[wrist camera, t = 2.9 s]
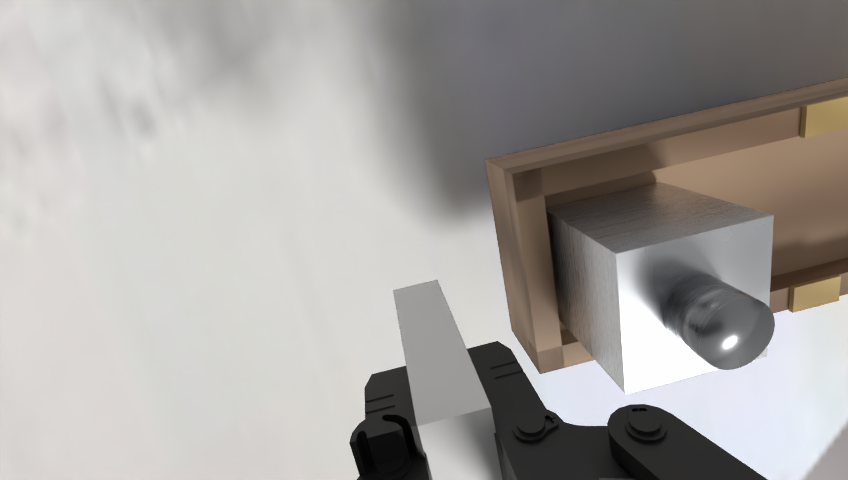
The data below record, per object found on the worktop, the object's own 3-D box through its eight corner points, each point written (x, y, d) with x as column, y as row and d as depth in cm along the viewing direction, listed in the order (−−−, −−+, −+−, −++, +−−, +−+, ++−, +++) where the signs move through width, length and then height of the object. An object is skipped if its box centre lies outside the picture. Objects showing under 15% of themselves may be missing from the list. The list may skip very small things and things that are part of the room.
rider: (543, 208, 17) (650, 275, 11) (659, 181, 17) (827, 230, 11) (556, 316, 18) (656, 429, 12) (663, 289, 19) (813, 386, 12)
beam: (463, 147, 22) (513, 173, 15) (891, 51, 24) (1125, 32, 17) (488, 295, 25) (542, 377, 18) (873, 200, 27) (1068, 240, 19)
